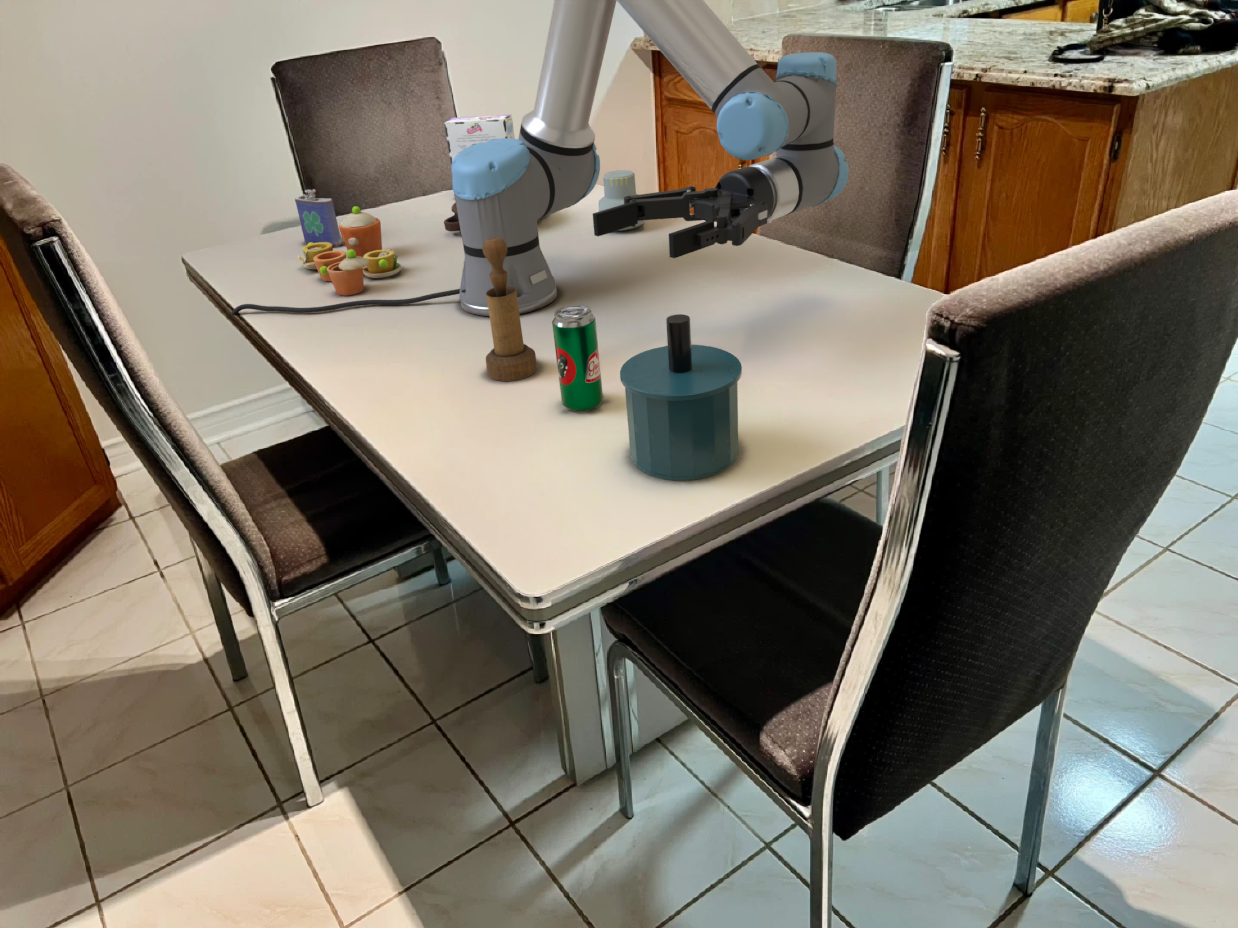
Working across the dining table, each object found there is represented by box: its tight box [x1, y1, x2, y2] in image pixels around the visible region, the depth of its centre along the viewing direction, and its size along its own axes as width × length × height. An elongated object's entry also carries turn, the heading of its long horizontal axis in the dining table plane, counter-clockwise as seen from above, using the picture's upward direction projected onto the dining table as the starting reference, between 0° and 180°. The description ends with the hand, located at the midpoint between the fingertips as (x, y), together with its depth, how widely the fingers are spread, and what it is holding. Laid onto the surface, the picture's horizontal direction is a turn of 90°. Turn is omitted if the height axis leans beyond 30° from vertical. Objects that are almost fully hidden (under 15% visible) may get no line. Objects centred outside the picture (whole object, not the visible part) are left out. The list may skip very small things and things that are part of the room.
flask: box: [294, 188, 343, 248], centre depth 182 cm, size 9×3×11 cm, turn 61°
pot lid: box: [619, 313, 743, 401], centre depth 96 cm, size 13×13×7 cm
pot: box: [624, 382, 739, 482], centre depth 100 cm, size 12×12×10 cm
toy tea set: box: [297, 205, 402, 296], centre depth 165 cm, size 26×16×10 cm, turn 29°
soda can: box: [551, 304, 604, 413], centre depth 112 cm, size 5×5×12 cm
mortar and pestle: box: [483, 237, 538, 382], centre depth 120 cm, size 7×6×18 cm
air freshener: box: [598, 169, 645, 232], centre depth 177 cm, size 11×8×10 cm
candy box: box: [443, 114, 516, 167], centre depth 205 cm, size 14×6×16 cm, turn 79°
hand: (631, 235), depth 110 cm, fingers open, 13 cm apart
